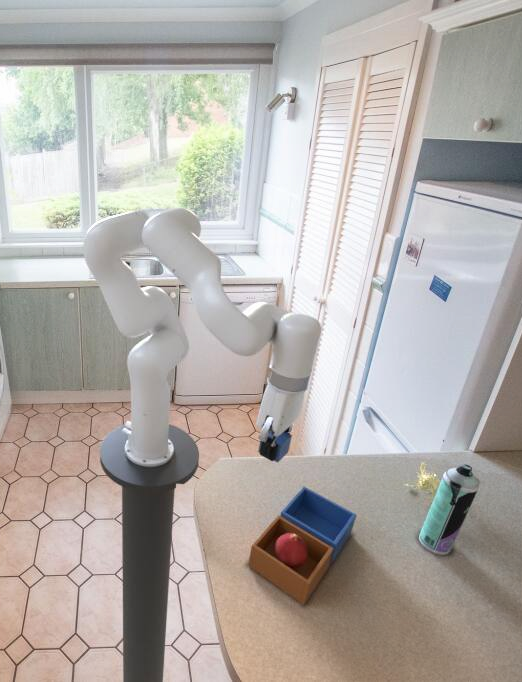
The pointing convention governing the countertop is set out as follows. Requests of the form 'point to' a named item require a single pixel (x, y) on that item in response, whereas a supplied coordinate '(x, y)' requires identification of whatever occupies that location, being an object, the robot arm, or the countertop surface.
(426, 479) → the pale yellow lumpy mass
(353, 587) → the countertop surface
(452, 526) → the spray can
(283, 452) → the blue block
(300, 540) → the onion
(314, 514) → the blue bin
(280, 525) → the brown bin
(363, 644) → the countertop surface
